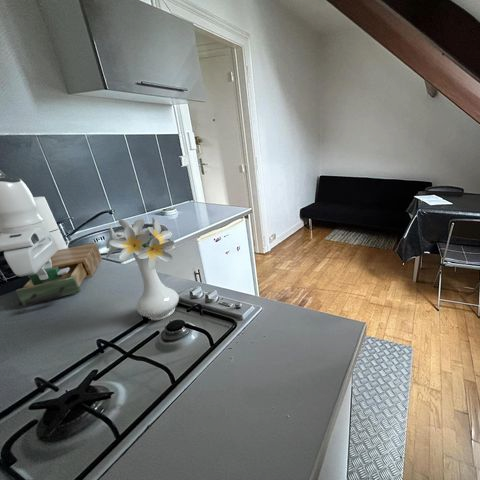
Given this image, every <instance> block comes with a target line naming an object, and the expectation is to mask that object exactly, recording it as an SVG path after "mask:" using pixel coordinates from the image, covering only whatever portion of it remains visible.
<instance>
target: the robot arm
mask: <svg viewBox="0 0 480 480" xmlns="http://www.w3.org/2000/svg"><path fill="white" fill-rule="evenodd" d="M34 197H35V196H34V195H33V194H32V192H31V190H30V189H29V187H28V186H27V184H26V183H25V182H24V181H23V180H22V178H19V177H17V176H14V175H7V174H6V173H4V172H3V171H2V170H1V169H0V252H3V256H4V259H5V261H6V262H7V264H8V266H9V267H10V269H11V271H12V272H13V274H14V275H16V276H17V277H20V278H23V277H27V276H28V277H29V275H32V274H37V275H38V277H39V279H40V280H45V279H48V278H49V274H48V272H46V271H45V270H46V269H50V268H52V262H51V259H50V258H51V257H52V256H53V255H54V254H55V253H56V252H57V251H58V246H57V244H56V242H55V240H54V239H53V237H52V235H51V234H50V232H49V230H48V228H47V226H46V224H45V222H44V219H43V218H42V217H41V216H40V214H39V213H38V210H37V204H36V202H35V200H34Z"/></svg>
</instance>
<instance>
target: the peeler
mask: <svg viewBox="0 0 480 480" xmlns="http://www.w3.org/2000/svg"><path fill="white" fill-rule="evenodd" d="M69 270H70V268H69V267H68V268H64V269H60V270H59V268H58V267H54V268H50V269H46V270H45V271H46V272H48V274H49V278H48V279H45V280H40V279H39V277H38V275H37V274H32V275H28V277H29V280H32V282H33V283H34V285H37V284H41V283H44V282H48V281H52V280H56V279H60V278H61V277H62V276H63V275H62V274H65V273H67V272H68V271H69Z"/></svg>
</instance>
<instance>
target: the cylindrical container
mask: <svg viewBox="0 0 480 480" xmlns="http://www.w3.org/2000/svg"><path fill="white" fill-rule="evenodd" d="M33 197H34V200H35V202H36V204H37V210H38V213H39V214H40V216H41V217H42V218H43V219H44V222H45V224H46V226H47V228H48V230H49V232H50V234H51V235H52V237H53V239H54V240H55V242H56V244H57V246H58V250H61V249H67V248H69V247H68V245H67V243H66V241H65V239H64V237H63V234H62V232H61V230H60V227H59V225H58V224H57V221H56V219H55V217H54V215H53V211H52V210H51V208H50V206H49V203H48V201H47V199H46V197H45V196H33Z"/></svg>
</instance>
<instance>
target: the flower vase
mask: <svg viewBox="0 0 480 480" xmlns="http://www.w3.org/2000/svg"><path fill="white" fill-rule="evenodd" d="M145 223H146V221H145V219H144V218H138V219H136V220H135V221H134V223H133V224H131V223H130V222H129V221H128V220H126V219H120V218H119V220H118V224H119V226H121V227H122V229H119V230H117V231H116V232H115V231H114V229H113V227H111V226H109V228H108V229H109V230H108V231H109V237H110V238H111V239H108V241H107V242H106V245H105V248H106V249H108V251H107V253H106V257H105V260H107V259H108V258H109V257H110V256H111V254H112V253H113V252H114V251H115V250H116V249H122V250H121V251H120V253H119V255H118V260H119V261H120V262H125V261H127V260H128V259H130V257H131V256H133V258H134V259H135V261H136V263H137V265H138V269H139V272H140V275H141V278H142V284H143V292H142V294H141V296H140V297H139V299H138V301H137V304H136V311H137V312H138V314H139V315H141V316H142V317H143V318H144V317H145V318H148V319H149V320H150V319H151V321H161V320H165V319H166V318H168V317H170V316H172V315H173V314H174V313H175V311H176V308H177V306H178V304H179V301H180V295H179V294H178V293H177V291H176V290H175V289H173V288H171V287H168V286H166V285H165V284H164V283H163V282H162V281H161V279H160V277H159V276H158V275H159V274H158V273H157V270H156V267H157V265H158V263H159V260H160V261H163V262H171V261H173V260H174V258H173V255H172V254H171V253H169V252H168V251H167V250H169V249H176V246H175V241H174V240H172V239H170V238H172V237H173V233H172V231H170V230H167V228H166V227H165V225H163V224H160V222H159V221H158V220H156V219H155V218H154V217H152V218H151V223H152V226H148V227H146V228H143V227H144V226H145ZM150 234H151V235H150Z"/></svg>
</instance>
